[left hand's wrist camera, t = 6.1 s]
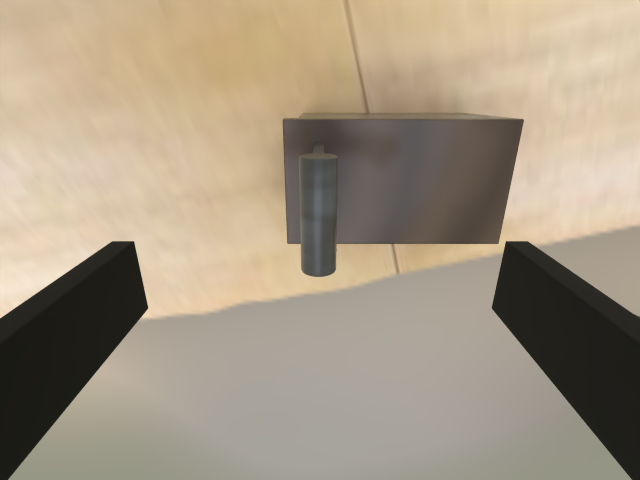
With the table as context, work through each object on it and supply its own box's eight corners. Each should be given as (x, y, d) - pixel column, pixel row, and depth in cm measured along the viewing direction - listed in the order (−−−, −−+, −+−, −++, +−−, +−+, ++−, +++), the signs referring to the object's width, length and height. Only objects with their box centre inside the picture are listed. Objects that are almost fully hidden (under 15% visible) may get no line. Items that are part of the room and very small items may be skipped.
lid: (288, 238, 28) (274, 299, 20) (284, 118, 25) (265, 128, 16) (492, 238, 28) (566, 299, 20) (515, 118, 25) (618, 129, 16)
